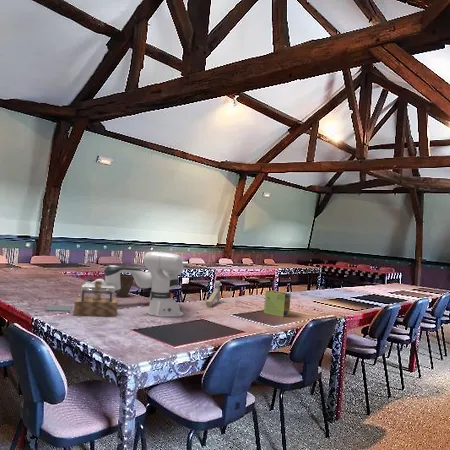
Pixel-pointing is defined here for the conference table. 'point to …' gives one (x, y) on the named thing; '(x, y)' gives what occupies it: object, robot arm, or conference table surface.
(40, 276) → the conference table surface
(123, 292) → the plant pot
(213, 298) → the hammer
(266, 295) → the protein box
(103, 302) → the toolbox
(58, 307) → the slate mat
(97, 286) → the wooden key
